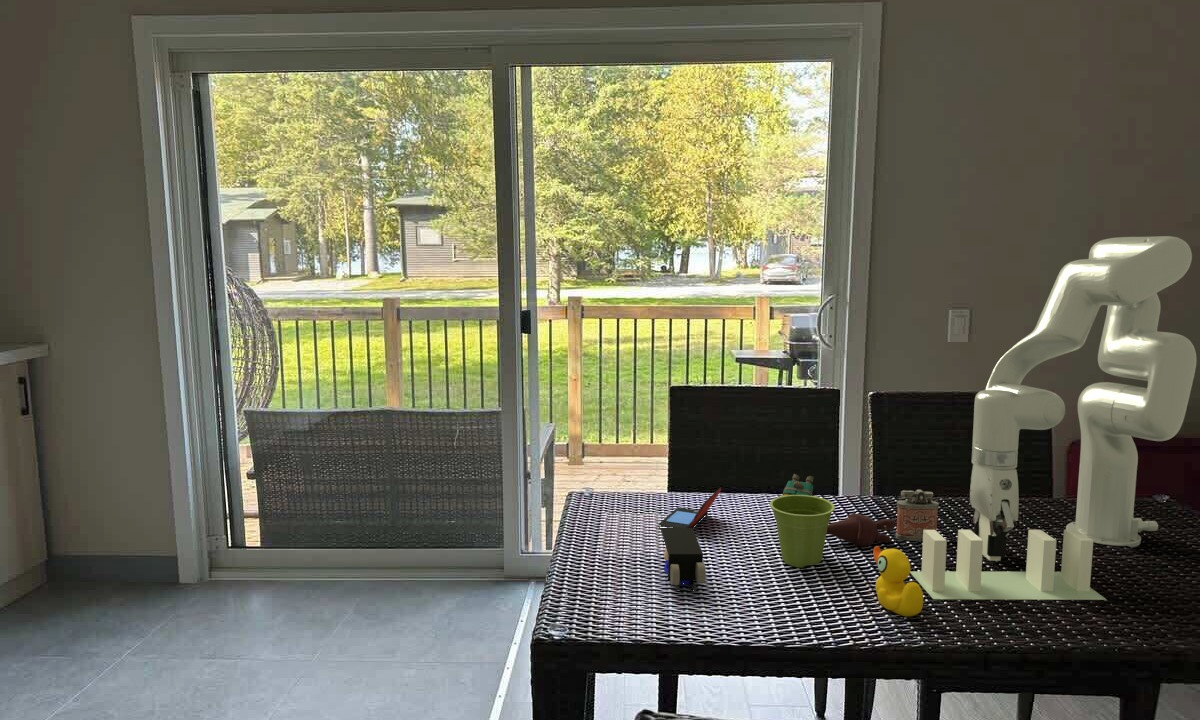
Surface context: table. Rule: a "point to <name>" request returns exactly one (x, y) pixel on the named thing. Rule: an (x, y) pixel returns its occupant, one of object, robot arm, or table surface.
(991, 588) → the board
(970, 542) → the domino
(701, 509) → the handheld game console
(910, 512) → the lighter
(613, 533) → the table surface
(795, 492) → the binoculars
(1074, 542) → the domino
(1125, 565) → the table surface
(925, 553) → the domino
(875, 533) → the icecream
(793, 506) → the plant pot
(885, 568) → the duckling
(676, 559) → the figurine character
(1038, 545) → the domino
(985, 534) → the domino
